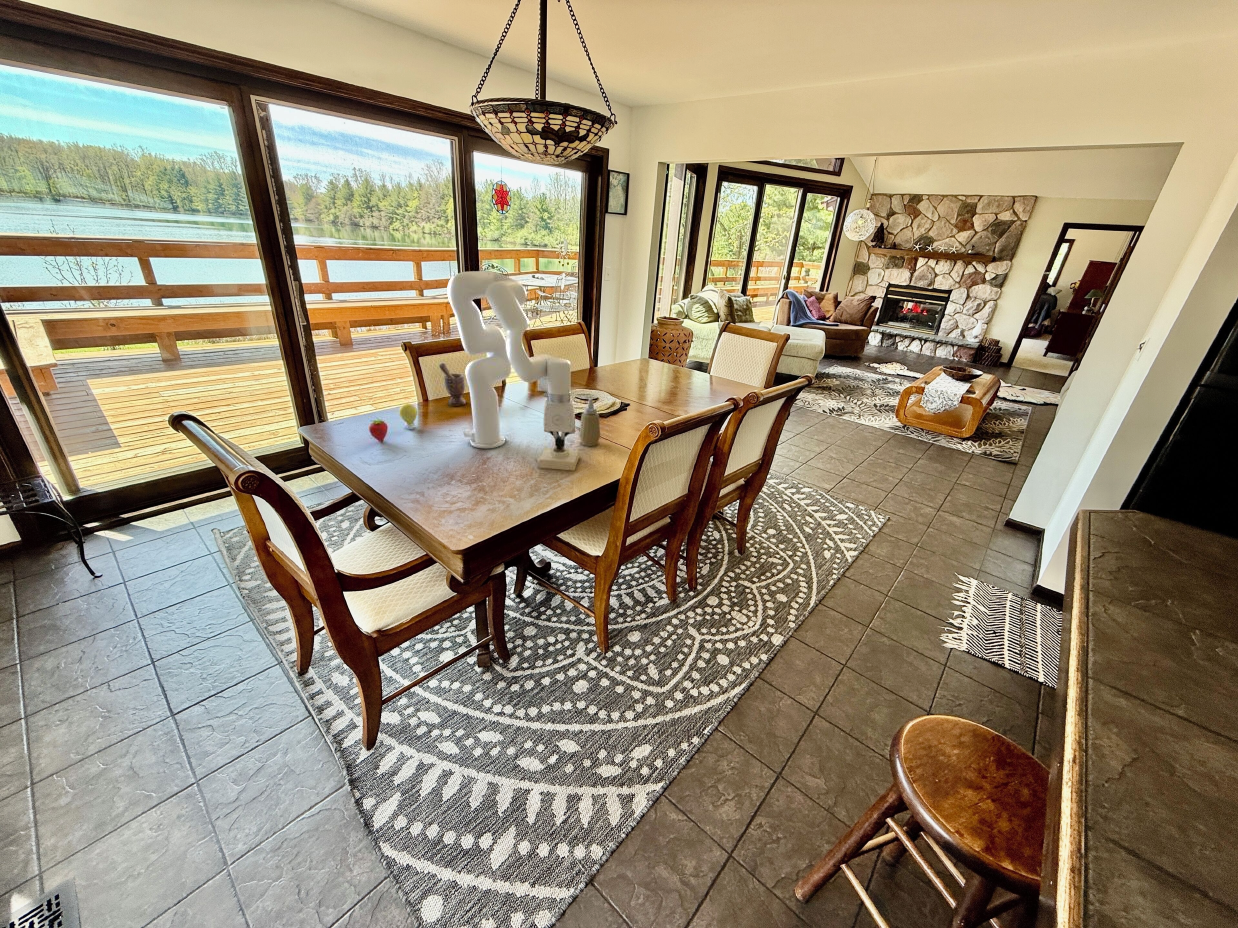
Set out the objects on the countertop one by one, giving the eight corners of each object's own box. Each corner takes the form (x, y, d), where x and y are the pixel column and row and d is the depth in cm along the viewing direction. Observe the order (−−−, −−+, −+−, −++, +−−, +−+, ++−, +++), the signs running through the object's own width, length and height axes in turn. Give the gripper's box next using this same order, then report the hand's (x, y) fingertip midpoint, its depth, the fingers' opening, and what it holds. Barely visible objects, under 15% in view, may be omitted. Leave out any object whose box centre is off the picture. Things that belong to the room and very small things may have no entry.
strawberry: (368, 445, 174) (363, 419, 169) (377, 437, 180) (372, 412, 176) (384, 446, 174) (380, 420, 169) (393, 438, 181) (388, 413, 176)
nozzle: (553, 455, 165) (553, 449, 164) (555, 451, 168) (555, 445, 167) (563, 456, 165) (563, 450, 164) (565, 451, 168) (565, 446, 167)
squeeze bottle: (597, 449, 180) (598, 403, 173) (576, 446, 182) (577, 400, 174) (602, 441, 188) (603, 396, 180) (582, 438, 189) (583, 394, 181)
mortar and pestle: (460, 409, 213) (456, 365, 204) (441, 408, 213) (436, 363, 204) (469, 401, 223) (465, 358, 215) (450, 400, 223) (446, 357, 215)
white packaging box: (537, 391, 242) (537, 366, 237) (542, 387, 249) (541, 363, 243) (551, 392, 241) (551, 368, 236) (556, 388, 248) (555, 364, 242)
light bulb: (397, 429, 189) (393, 405, 184) (410, 424, 194) (406, 400, 190) (411, 432, 186) (407, 408, 182) (423, 427, 192) (420, 403, 188)
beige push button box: (539, 467, 164) (539, 454, 162) (545, 455, 173) (545, 443, 171) (574, 470, 163) (574, 457, 161) (578, 458, 172) (578, 445, 170)
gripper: (534, 399, 155) (536, 451, 162) (580, 402, 154) (579, 454, 162) (539, 392, 161) (541, 442, 169) (583, 395, 161) (583, 445, 168)
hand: (560, 448), depth 165 cm, fingers closed
